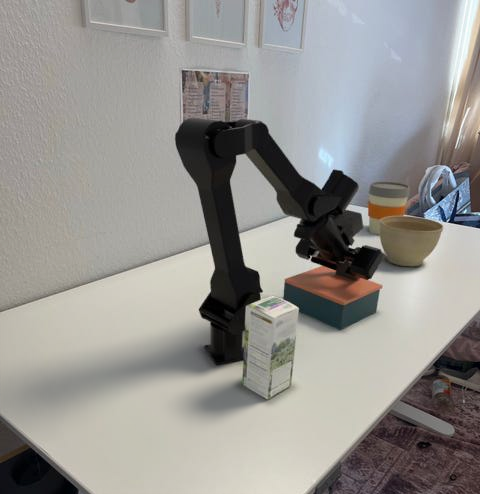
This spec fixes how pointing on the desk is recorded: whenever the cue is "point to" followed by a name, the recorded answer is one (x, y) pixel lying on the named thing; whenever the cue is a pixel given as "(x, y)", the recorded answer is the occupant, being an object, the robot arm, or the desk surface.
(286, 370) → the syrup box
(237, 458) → the desk surface
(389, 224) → the planter bowl
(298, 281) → the lid
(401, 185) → the reusable coffee cup
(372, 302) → the box
